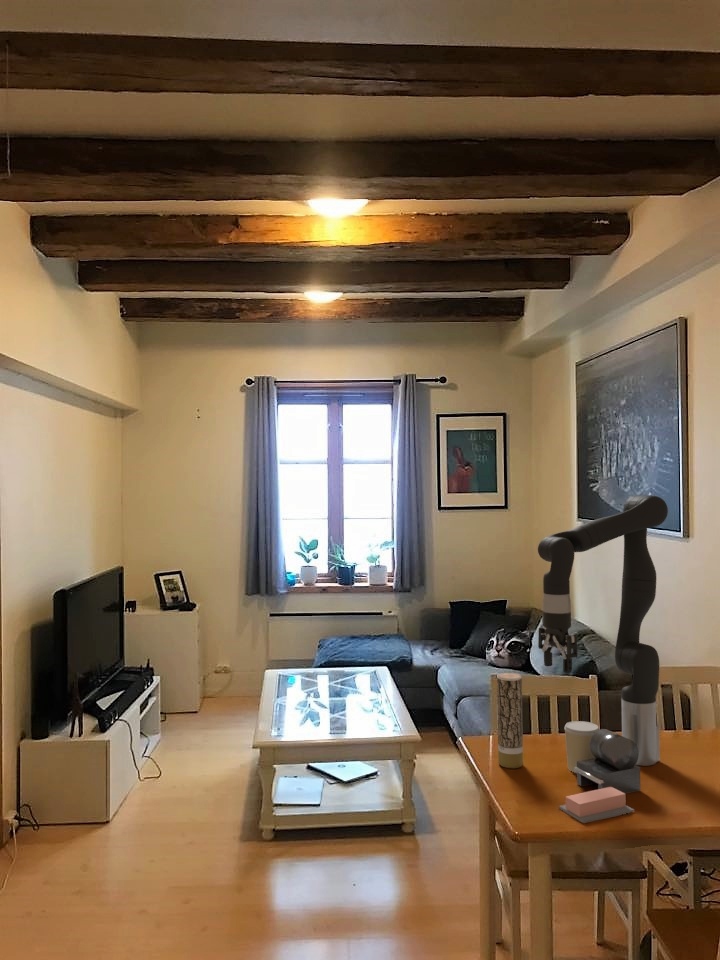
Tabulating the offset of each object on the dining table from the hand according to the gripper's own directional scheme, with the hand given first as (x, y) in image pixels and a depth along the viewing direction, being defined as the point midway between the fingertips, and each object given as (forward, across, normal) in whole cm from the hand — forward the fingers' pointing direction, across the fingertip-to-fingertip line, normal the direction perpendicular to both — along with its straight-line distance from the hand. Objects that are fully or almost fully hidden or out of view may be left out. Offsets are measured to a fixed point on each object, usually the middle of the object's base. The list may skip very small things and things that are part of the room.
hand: (557, 669), depth 212 cm
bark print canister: (+28, +10, +9) cm, 31 cm away
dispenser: (+28, -14, -5) cm, 32 cm away
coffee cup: (+28, -1, -7) cm, 29 cm away
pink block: (+28, -24, +7) cm, 37 cm away
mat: (+28, -24, +7) cm, 38 cm away
